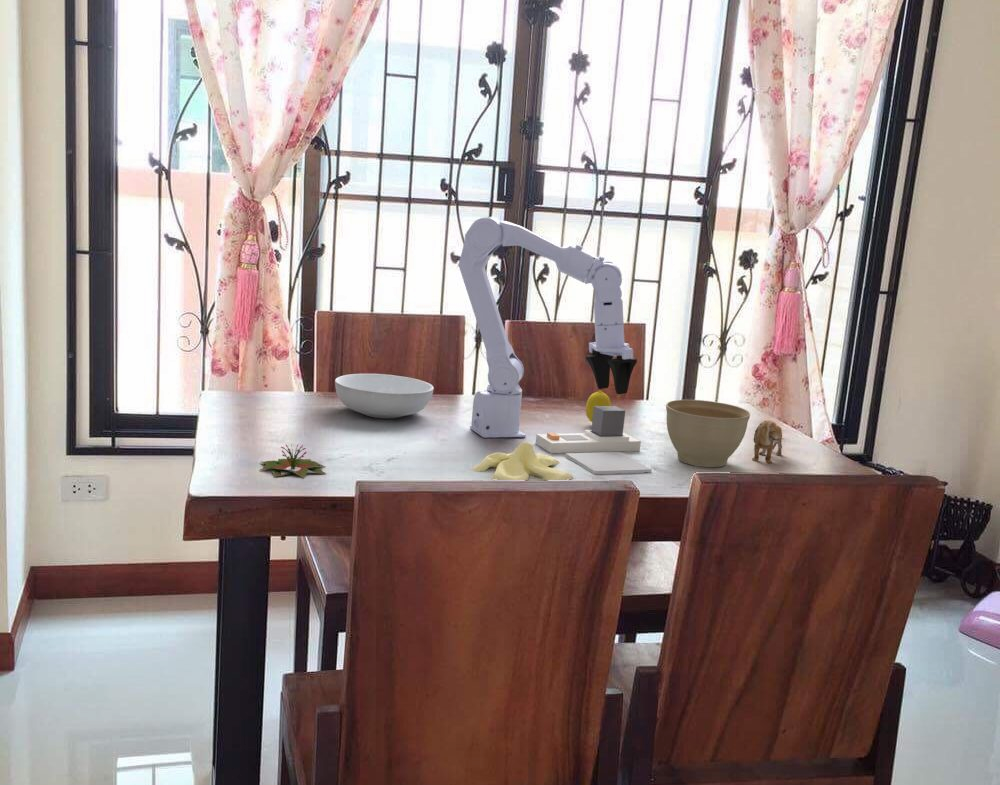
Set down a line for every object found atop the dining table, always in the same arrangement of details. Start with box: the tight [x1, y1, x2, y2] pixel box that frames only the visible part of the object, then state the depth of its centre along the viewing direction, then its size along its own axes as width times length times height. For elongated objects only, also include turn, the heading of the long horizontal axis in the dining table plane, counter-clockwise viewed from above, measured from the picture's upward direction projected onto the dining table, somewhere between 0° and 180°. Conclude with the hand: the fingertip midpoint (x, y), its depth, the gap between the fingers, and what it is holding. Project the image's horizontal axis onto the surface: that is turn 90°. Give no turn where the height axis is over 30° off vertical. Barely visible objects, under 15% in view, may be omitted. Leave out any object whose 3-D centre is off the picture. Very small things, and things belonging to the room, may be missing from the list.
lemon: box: [585, 390, 612, 423], centre depth 221 cm, size 6×6×8 cm
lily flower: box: [259, 443, 327, 479], centre depth 170 cm, size 12×12×5 cm
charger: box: [590, 405, 626, 437], centre depth 203 cm, size 5×4×6 cm
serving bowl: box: [334, 373, 435, 419], centre depth 215 cm, size 21×21×7 cm
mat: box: [565, 451, 653, 475], centre depth 191 cm, size 12×12×1 cm
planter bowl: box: [665, 399, 751, 468], centre depth 198 cm, size 16×16×11 cm
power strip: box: [535, 429, 642, 454], centre depth 202 cm, size 20×7×3 cm, turn 113°
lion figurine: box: [751, 420, 783, 464], centre depth 206 cm, size 15×5×9 cm, turn 159°
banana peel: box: [469, 441, 574, 481], centre depth 181 cm, size 22×19×6 cm
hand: (612, 390), depth 203 cm, fingers open, 7 cm apart
